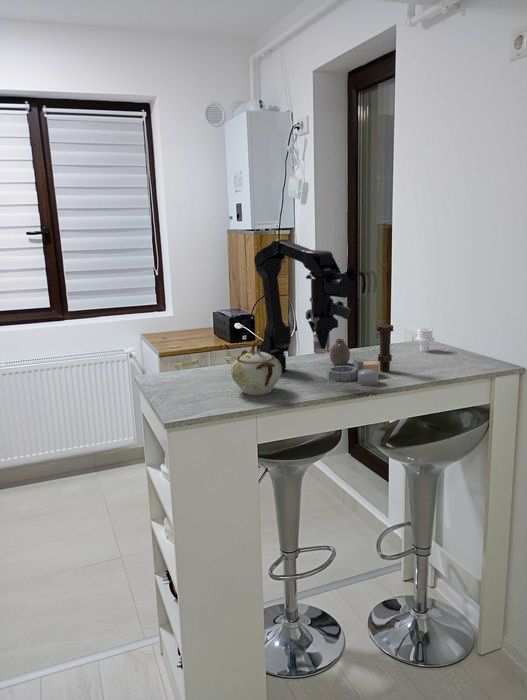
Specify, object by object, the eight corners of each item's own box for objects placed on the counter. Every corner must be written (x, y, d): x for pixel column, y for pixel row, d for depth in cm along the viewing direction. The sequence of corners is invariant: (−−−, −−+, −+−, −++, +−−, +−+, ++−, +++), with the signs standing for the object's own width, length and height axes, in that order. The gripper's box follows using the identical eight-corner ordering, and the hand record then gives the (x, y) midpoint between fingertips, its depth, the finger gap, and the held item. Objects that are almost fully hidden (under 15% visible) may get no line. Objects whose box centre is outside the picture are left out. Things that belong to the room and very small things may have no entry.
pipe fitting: (421, 347, 223) (422, 327, 221) (437, 350, 218) (438, 329, 216) (411, 350, 219) (411, 329, 217) (427, 353, 214) (427, 331, 212)
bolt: (392, 373, 189) (393, 327, 185) (376, 373, 190) (377, 327, 186) (392, 368, 194) (393, 324, 191) (376, 368, 195) (377, 324, 192)
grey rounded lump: (360, 386, 176) (360, 374, 175) (355, 380, 182) (355, 369, 181) (380, 385, 177) (380, 373, 176) (374, 379, 183) (374, 368, 182)
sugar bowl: (295, 395, 169) (294, 344, 165) (247, 404, 162) (245, 351, 159) (265, 380, 186) (264, 333, 183) (221, 387, 180) (219, 338, 177)
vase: (327, 366, 200) (327, 341, 198) (332, 361, 207) (331, 337, 205) (348, 367, 198) (348, 341, 196) (351, 362, 205) (351, 337, 203)
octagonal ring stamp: (331, 381, 182) (331, 365, 181) (325, 374, 191) (325, 358, 189) (381, 378, 183) (381, 362, 182) (372, 371, 192) (372, 355, 191)
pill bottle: (323, 350, 180) (323, 323, 178) (332, 353, 176) (332, 325, 174) (310, 352, 178) (310, 325, 176) (319, 355, 174) (319, 327, 172)
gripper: (355, 297, 165) (355, 352, 168) (340, 290, 183) (340, 339, 186) (316, 299, 164) (317, 354, 167) (305, 291, 182) (305, 341, 185)
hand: (321, 346), depth 176 cm, fingers closed on pill bottle, 5 cm apart
